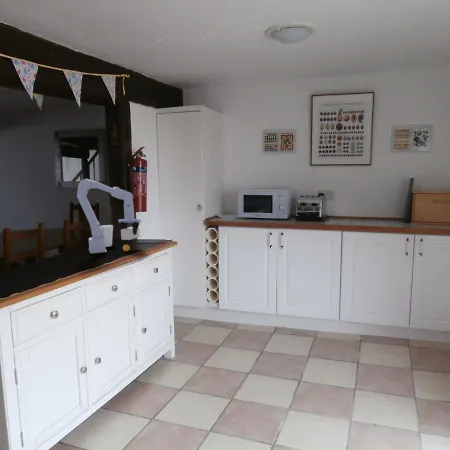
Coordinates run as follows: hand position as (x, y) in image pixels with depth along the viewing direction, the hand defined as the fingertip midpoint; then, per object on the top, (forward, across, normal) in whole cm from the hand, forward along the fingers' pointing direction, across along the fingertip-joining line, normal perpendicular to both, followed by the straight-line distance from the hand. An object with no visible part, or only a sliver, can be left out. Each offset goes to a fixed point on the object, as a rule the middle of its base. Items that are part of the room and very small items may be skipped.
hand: (130, 234), depth 254 cm
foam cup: (+10, +25, -9) cm, 28 cm away
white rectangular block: (+2, 0, 0) cm, 2 cm away
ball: (+7, 0, +5) cm, 9 cm away
